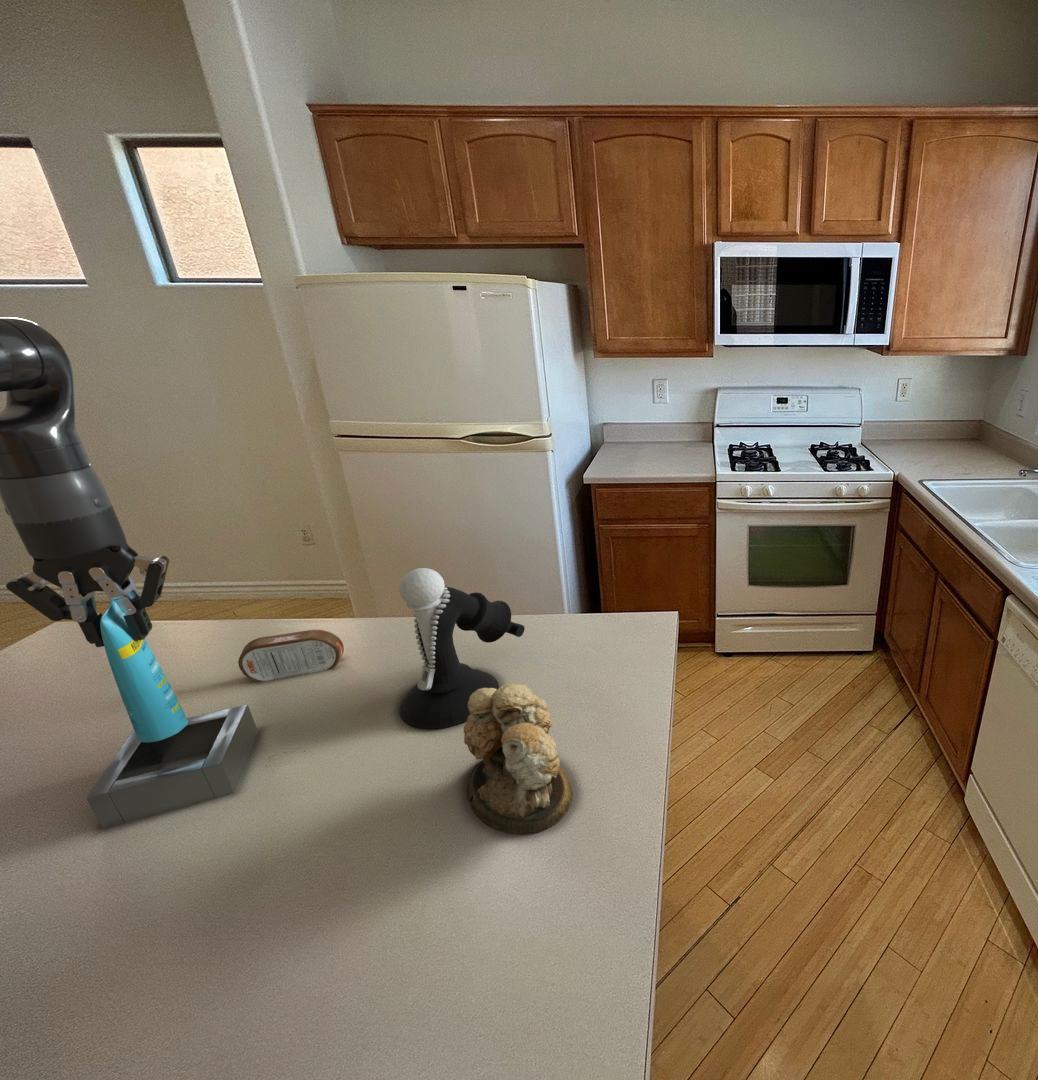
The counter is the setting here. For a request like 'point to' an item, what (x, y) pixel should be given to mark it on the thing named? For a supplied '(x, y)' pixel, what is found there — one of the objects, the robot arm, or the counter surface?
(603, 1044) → the counter surface
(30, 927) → the counter surface
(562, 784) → the owl figurine
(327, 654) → the tin
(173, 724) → the tube
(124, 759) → the stand
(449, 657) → the sculpture
